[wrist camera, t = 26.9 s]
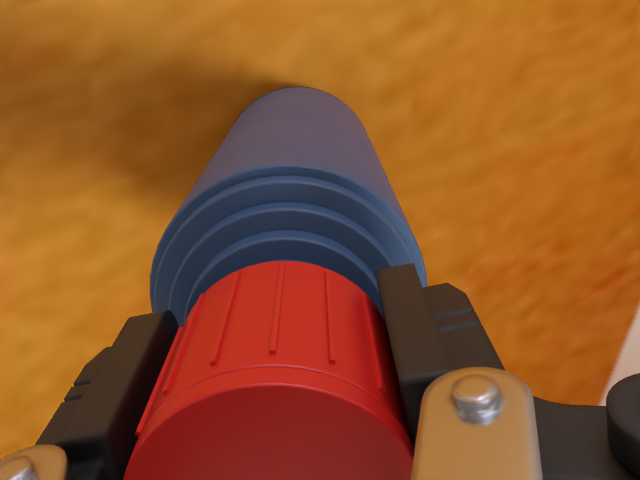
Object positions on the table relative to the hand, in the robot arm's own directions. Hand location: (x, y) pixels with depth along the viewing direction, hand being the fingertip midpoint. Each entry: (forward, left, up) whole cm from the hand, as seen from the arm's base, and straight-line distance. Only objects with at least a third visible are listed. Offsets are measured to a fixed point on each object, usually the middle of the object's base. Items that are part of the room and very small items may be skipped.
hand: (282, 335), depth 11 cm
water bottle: (0, 0, -15) cm, 15 cm away
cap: (0, 0, 0) cm, 0 cm away
